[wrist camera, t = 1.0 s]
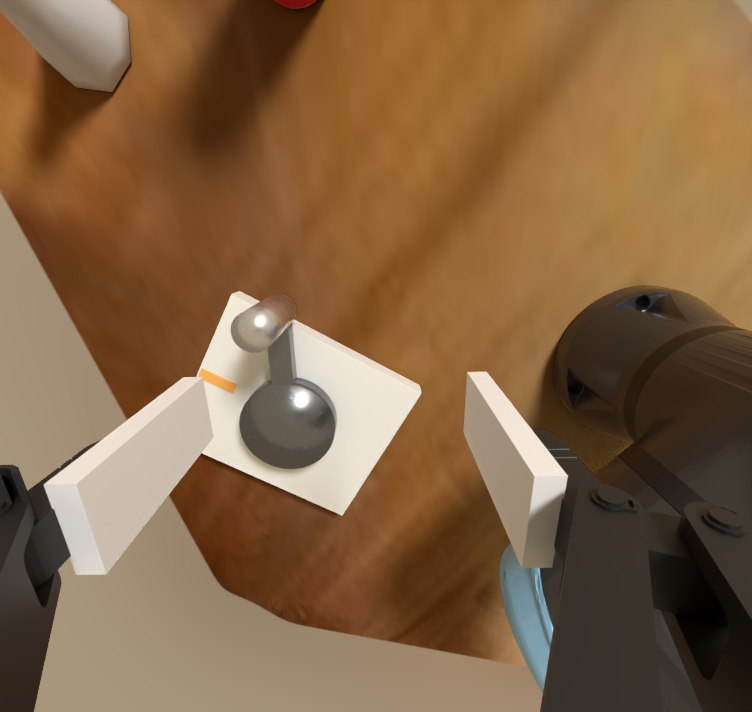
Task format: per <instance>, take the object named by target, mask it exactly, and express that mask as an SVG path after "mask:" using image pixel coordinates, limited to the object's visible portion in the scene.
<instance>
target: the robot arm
mask: <svg viewBox="0 0 752 712" xmlns="http://www.w3.org/2000/svg"><path fill="white" fill-rule="evenodd" d="M553 379H554V385H555V389H556V392H557V394H558V396H559V398H560V400H561V402H562V403H563V405H564V406H565V407H566V408H567V410H568V411H569V412H570V413H572V414H573V415H574V416H575V417H576V418H577V419H578V420H579V421H580V422H581V423H583V424H584V425H585V426H587V427H589V428H590V429H592V430H594V431H596V432H598V433H600V434H603V435H606V436H609V437H612V438H614V439H617V440H620V441H623V442H626V443H629V444H632V445H630V446H629V447H628V448H627V449H625V450H624V451H623V452H622V453H620V454H619V455H617V456H616V457H615V458H613V459H612V460H611V461H610V462H608V463H607V464H606V465H605V466H603V467H602V468H601V469H600V470H599V471H597V472H596V473H595V474H594V475H593V474H592V473H591V471H590V470H589V469H588V468H587V467H586V466H585V465H584V464H583V462H582V461H581V460H580V459H579V458H577V456H576V455H575V453H574V452H573V451H572V450H570V449H569V447H568V446H567V444H566V443H565V442H564V441H563V440H562V439H561V438H560V437H558V436H557V435H555V434H553V433H552V432H550V431H548V430H547V429H542V430H532V429H531V428H530V427H529V425H528V424H527V423H526V422H525V420H524V419H523V418H522V417H521V415H520V414H519V413H518V411H517V410H516V409H515V408H514V406H513V405H512V404H511V402H510V401H509V400H508V399H507V397H506V396H505V395H504V393H503V392H502V391H501V390H500V388H499V387H498V386H497V384H496V383H495V382H494V381H493V379H492V378H491V377H490V376H489V374H488V373H487V372H467V384H466V400H465V416H464V432H463V433H464V435H465V438H466V440H467V442H468V445H469V447H470V449H471V452H472V454H473V456H474V459H475V461H476V463H477V466H478V468H479V470H480V473H481V475H482V477H483V479H484V482H485V484H486V486H487V489H488V491H489V493H490V496H491V498H492V500H493V503H494V505H495V507H496V510H497V512H498V514H499V517H500V519H501V521H502V524H503V526H504V528H505V530H506V533H507V535H508V537H509V540H510V542H511V543H510V544H509V545H508V547H507V548H506V549H505V551H504V553H503V555H502V558H501V562H500V569H499V573H500V575H499V579H500V584H501V589H502V590H501V593H502V594H501V595H502V600H503V604H504V607H505V611H506V615H507V618H508V621H509V624H510V627H511V629H512V632H513V635H514V637H515V640H516V642H517V644H518V647H519V649H520V651H521V653H522V655H523V657H524V659H525V662H526V664H527V666H528V667H529V670H530V671H531V673H532V675H533V677H534V679H535V681H536V683H537V684H538V686H539V688H540V689H541V691H542V693H543V697H542V703H541V710H540V712H752V331H748V330H744V329H741V328H738V327H736V326H735V325H734V324H732V323H731V322H730V321H728V320H727V319H726V318H725V317H723V316H722V315H721V314H719V313H718V312H717V311H715V310H714V309H713V308H711V307H710V306H709V305H707V304H706V303H705V302H703V301H702V300H700V299H699V298H697V297H695V296H693V295H690V294H688V293H685V292H682V291H678V290H674V289H669V288H664V287H658V286H634V287H629V288H625V289H621V290H618V291H615V292H613V293H610V294H608V295H606V296H604V297H602V298H600V299H599V300H597V301H595V302H594V303H592V304H591V305H590V306H588V307H587V308H586V309H585V310H584V311H582V312H581V313H580V314H579V315H578V316H577V317H576V318H575V320H574V321H573V322H572V323H571V324H570V326H569V327H568V329H567V330H566V332H565V333H564V335H563V337H562V339H561V341H560V343H559V345H558V348H557V351H556V354H555V358H554V365H553ZM213 438H214V436H213V431H212V425H211V420H210V414H209V409H208V403H207V398H206V392H205V387H204V381H203V377H183V378H182V379H181V380H179V381H178V382H177V383H176V384H174V385H173V386H172V387H170V388H169V389H168V390H166V391H165V392H164V393H162V394H161V395H160V396H159V397H157V398H156V399H155V400H153V401H152V402H151V403H149V404H148V405H147V406H145V407H144V408H143V409H142V410H140V411H139V412H138V413H136V414H135V415H134V416H132V417H131V418H130V419H128V420H127V421H126V422H125V423H123V424H122V425H121V426H119V427H118V428H117V429H115V430H114V431H113V432H112V433H110V434H109V435H108V436H106V437H105V438H104V439H102V440H100V441H98V442H96V443H94V444H91V445H89V446H87V447H86V448H84V449H83V450H82V451H80V452H79V453H78V454H77V455H75V456H74V457H73V458H72V459H70V460H68V461H67V462H66V463H64V464H63V465H62V466H61V468H58V469H56V470H55V471H54V472H52V473H51V474H50V475H48V476H47V477H46V478H44V479H43V480H42V481H40V482H39V483H38V484H36V485H35V486H34V487H32V488H31V489H30V490H28V491H27V489H26V486H25V484H24V481H23V479H22V476H21V474H20V471H19V468H18V467H16V466H14V465H0V712H34V708H35V703H36V699H37V694H38V689H39V685H40V680H41V675H42V671H43V666H44V661H45V657H46V652H47V648H48V642H49V638H50V634H51V629H52V625H53V620H54V615H55V610H56V606H57V601H58V597H59V592H60V587H61V577H60V575H59V572H58V569H59V568H60V567H61V566H62V564H63V563H64V562H65V561H66V560H67V559H68V558H69V557H70V559H71V562H72V564H73V567H74V570H75V572H76V575H104V574H107V573H108V572H109V570H110V569H111V568H112V566H113V565H114V564H115V563H116V561H117V560H118V559H119V558H120V556H121V555H122V553H123V552H124V551H125V550H126V549H127V547H128V546H129V545H130V543H131V542H132V541H133V540H134V538H135V537H136V536H137V535H138V533H139V532H140V531H141V529H142V528H143V527H144V526H145V524H146V523H147V522H148V520H149V519H150V518H151V517H152V515H153V514H154V513H155V512H156V510H157V509H158V508H159V506H160V505H161V504H162V503H163V501H164V500H165V499H166V497H167V496H168V495H169V494H170V492H171V491H172V490H173V489H174V487H175V486H176V485H177V484H178V482H179V481H180V480H181V478H182V477H183V476H184V475H185V473H186V472H187V471H188V469H189V468H190V467H191V466H192V464H193V463H194V462H195V461H196V459H197V458H198V457H199V455H200V454H201V453H202V452H203V450H204V449H205V448H206V446H207V445H208V444H209V443H210V441H211V440H212V439H213Z"/></svg>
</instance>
